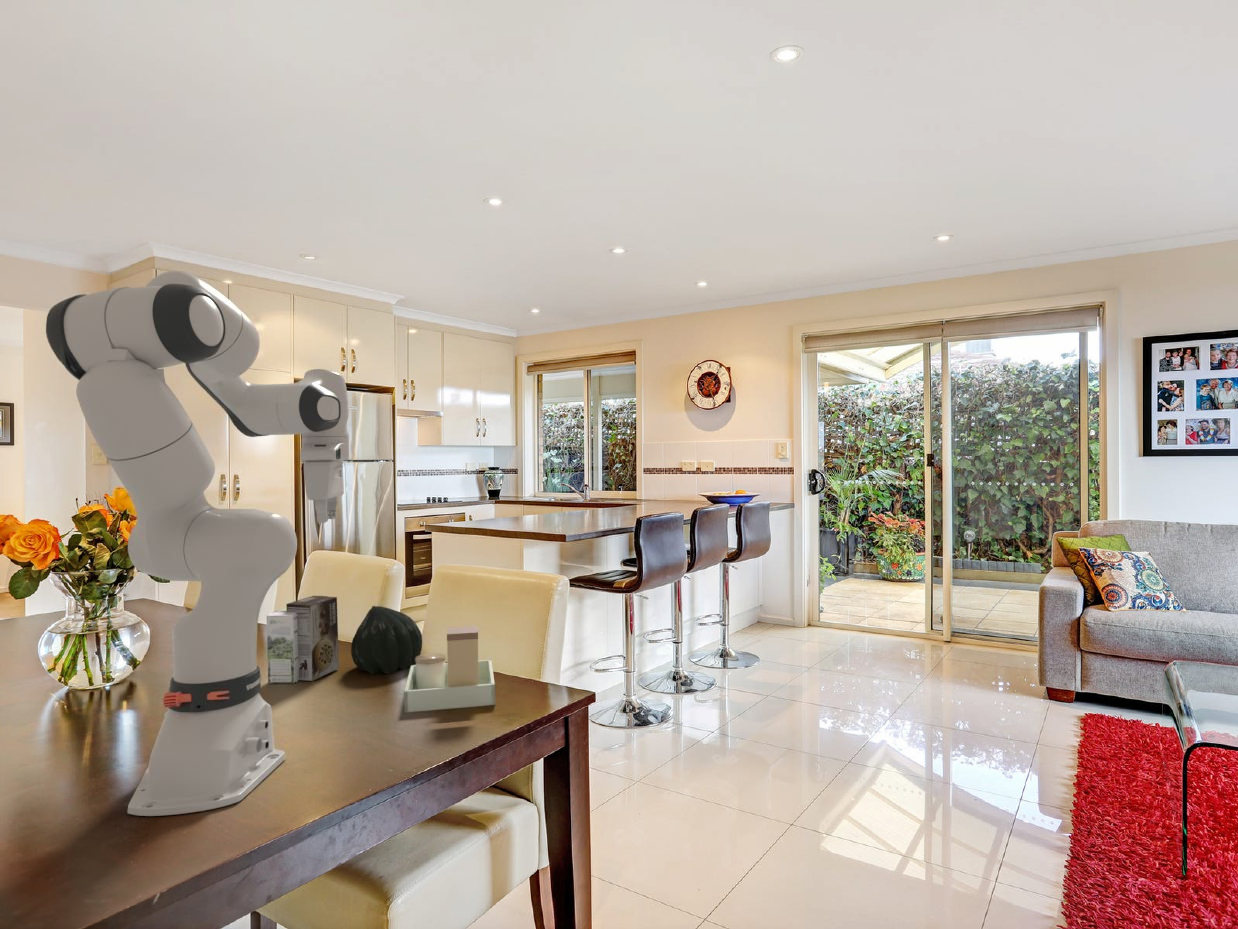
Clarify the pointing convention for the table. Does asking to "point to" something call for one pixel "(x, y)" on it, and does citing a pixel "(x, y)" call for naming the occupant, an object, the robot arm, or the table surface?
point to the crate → (451, 692)
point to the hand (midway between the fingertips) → (327, 520)
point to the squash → (386, 641)
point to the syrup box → (282, 647)
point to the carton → (462, 656)
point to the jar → (430, 671)
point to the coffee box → (316, 636)
